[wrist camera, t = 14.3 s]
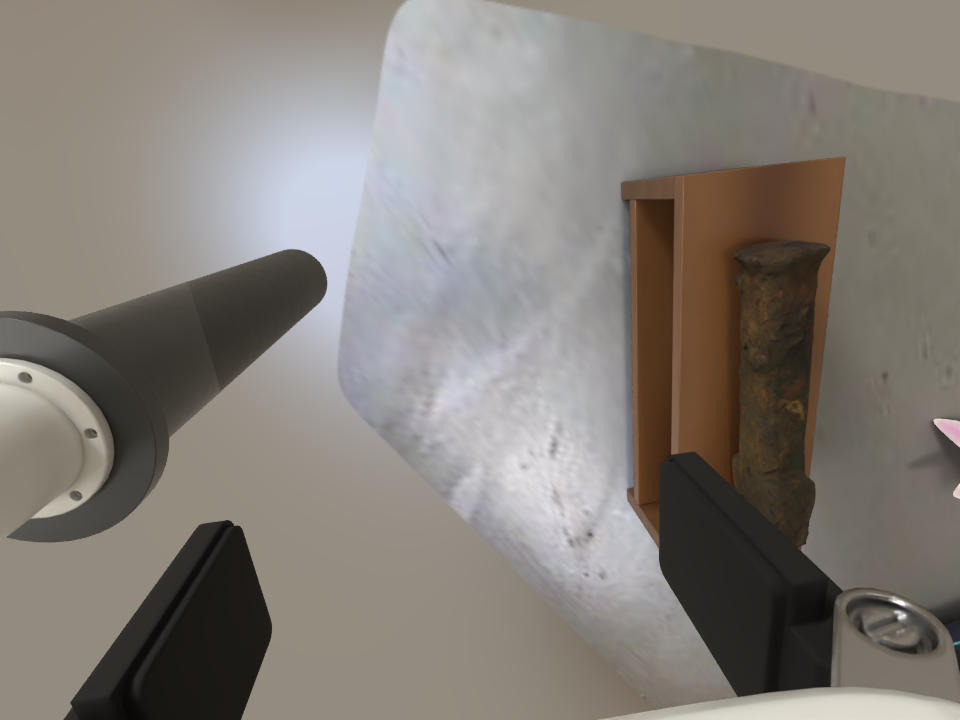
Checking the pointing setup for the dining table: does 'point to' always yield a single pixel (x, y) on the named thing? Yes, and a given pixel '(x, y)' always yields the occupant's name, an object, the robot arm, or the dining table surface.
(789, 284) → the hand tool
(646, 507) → the shelf stand
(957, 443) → the lily
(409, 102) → the dining table surface
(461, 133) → the dining table surface
